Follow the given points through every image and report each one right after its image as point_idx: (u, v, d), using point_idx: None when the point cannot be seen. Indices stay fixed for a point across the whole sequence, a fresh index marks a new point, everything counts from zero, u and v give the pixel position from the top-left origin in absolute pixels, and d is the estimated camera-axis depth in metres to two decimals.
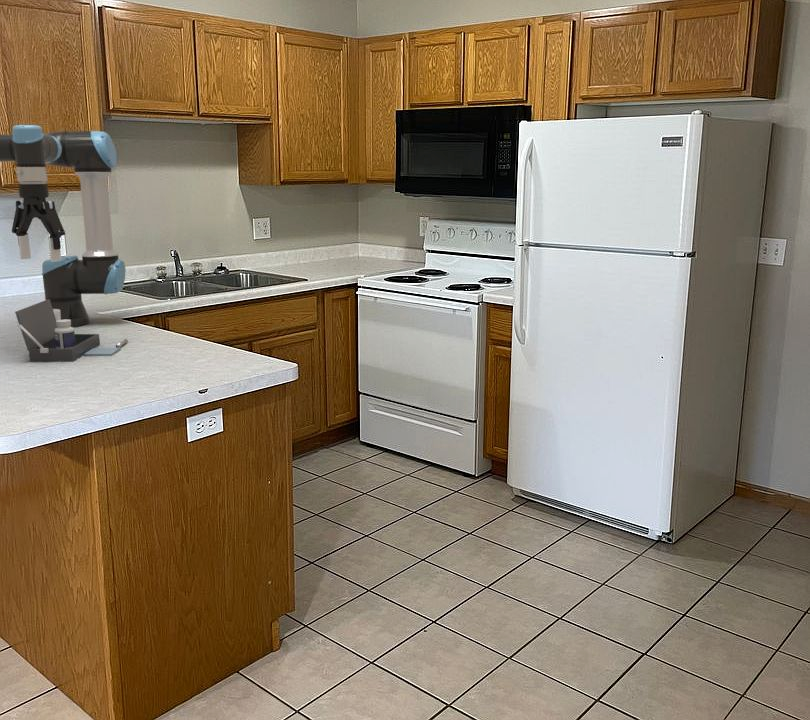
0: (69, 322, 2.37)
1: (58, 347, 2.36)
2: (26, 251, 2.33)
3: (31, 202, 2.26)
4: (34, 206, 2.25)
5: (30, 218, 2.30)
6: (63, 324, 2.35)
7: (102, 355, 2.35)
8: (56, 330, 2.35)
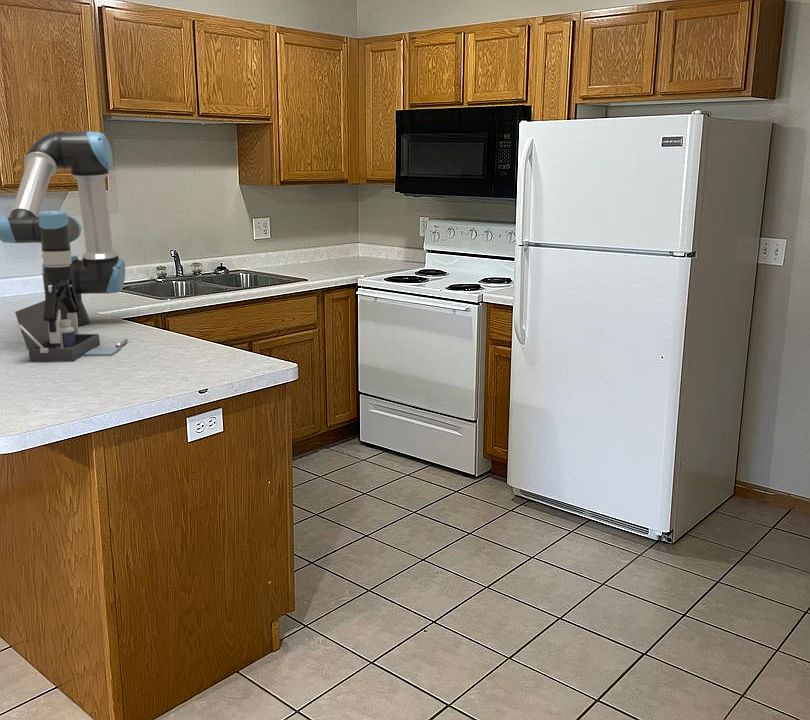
0: (69, 322, 2.37)
1: (58, 347, 2.36)
2: (73, 327, 2.44)
3: None
4: None
5: (67, 297, 2.39)
6: (63, 324, 2.35)
7: (102, 355, 2.35)
8: None
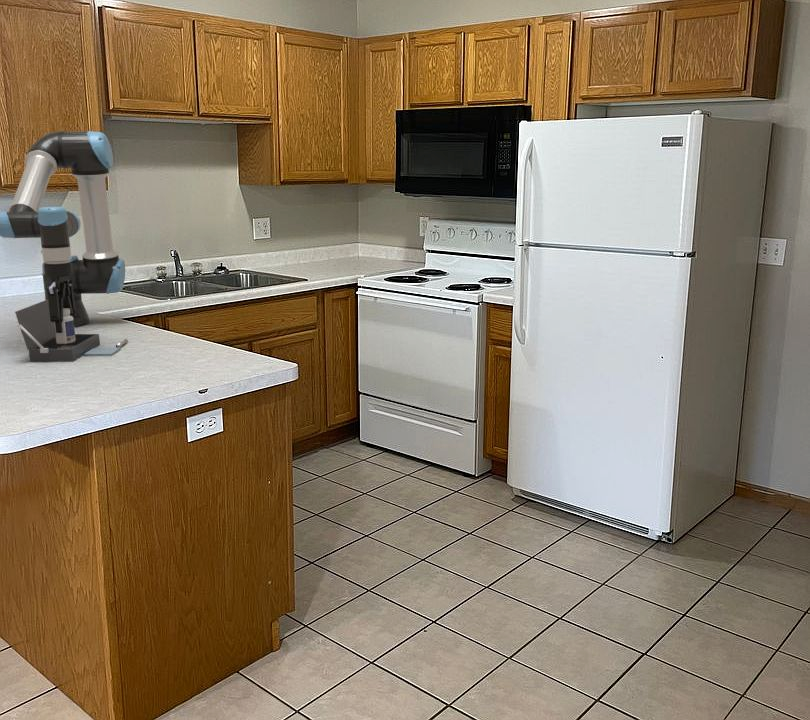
0: (68, 311, 2.36)
1: None
2: None
3: None
4: None
5: (65, 296, 2.37)
6: None
7: (102, 355, 2.35)
8: None
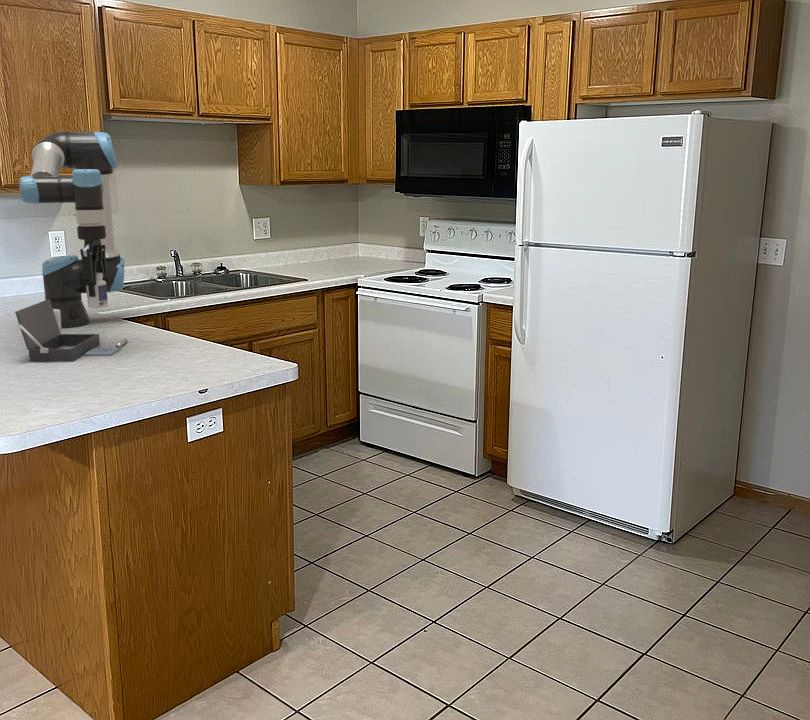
0: (101, 275, 2.34)
1: None
2: None
3: None
4: None
5: (97, 260, 2.35)
6: None
7: (102, 355, 2.35)
8: None
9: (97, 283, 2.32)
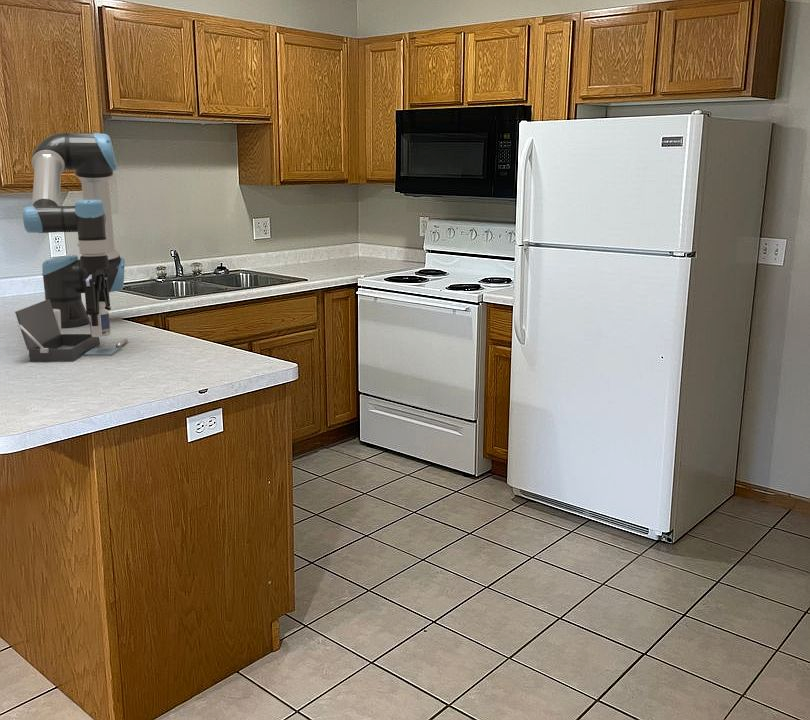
0: (104, 304, 2.36)
1: None
2: None
3: None
4: None
5: (100, 289, 2.37)
6: None
7: (102, 355, 2.35)
8: None
9: (100, 312, 2.34)
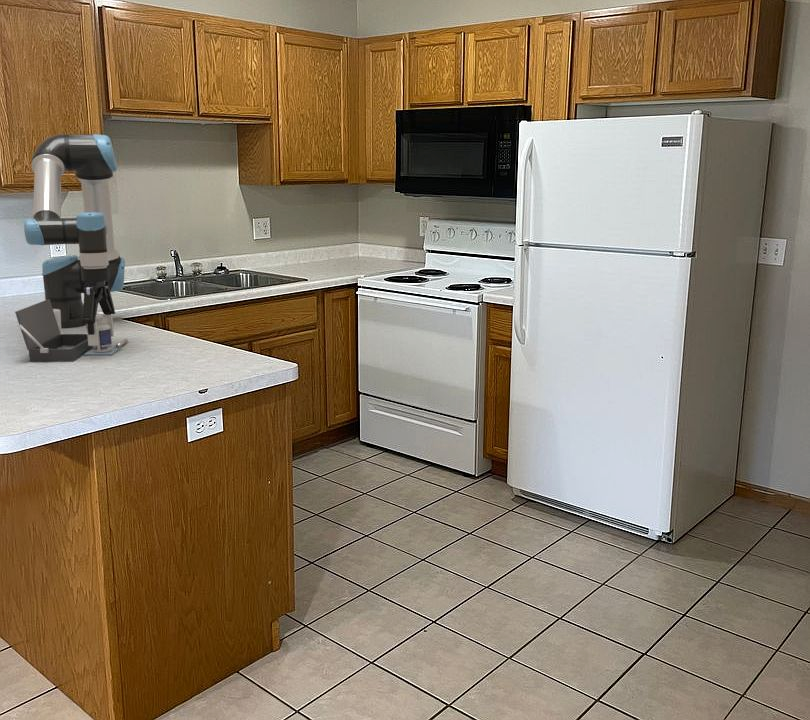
0: (105, 319, 2.37)
1: None
2: None
3: None
4: None
5: (103, 299, 2.39)
6: (100, 321, 2.36)
7: (102, 355, 2.35)
8: None
9: (102, 328, 2.36)
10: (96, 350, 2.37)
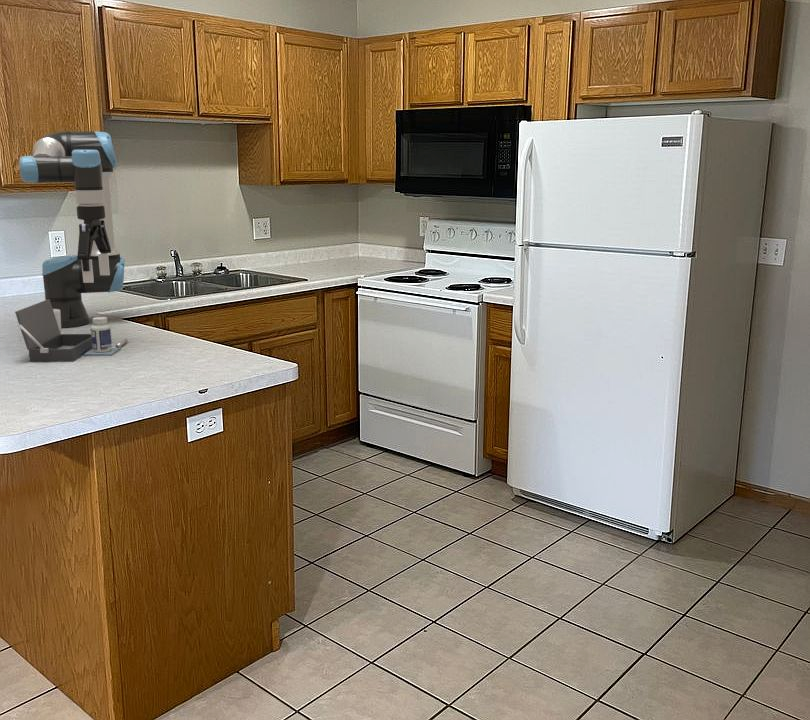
0: (105, 319, 2.37)
1: (94, 344, 2.37)
2: (104, 268, 2.44)
3: None
4: None
5: (98, 238, 2.39)
6: (100, 321, 2.36)
7: (102, 355, 2.35)
8: (93, 327, 2.36)
9: (102, 328, 2.36)
10: (96, 350, 2.37)
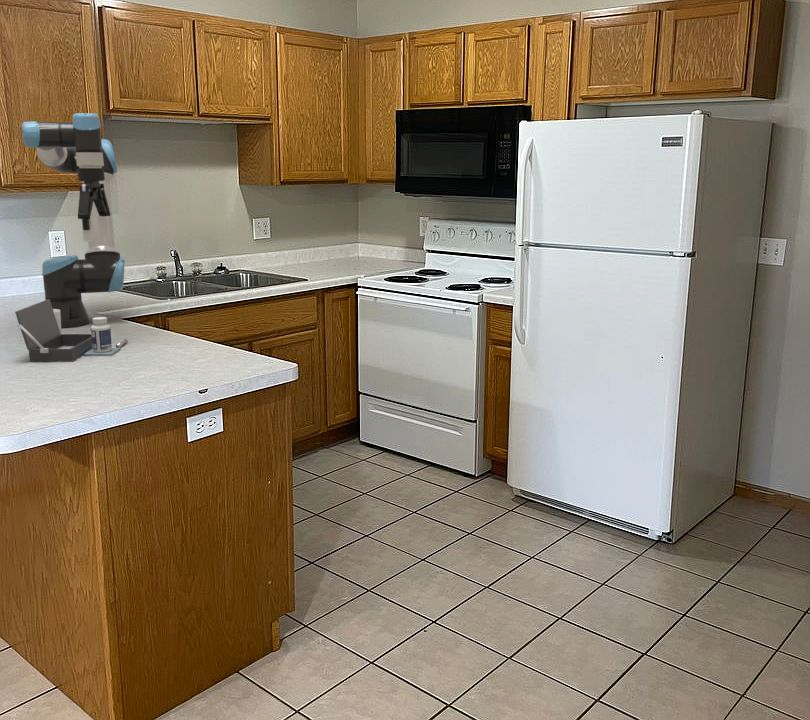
0: (105, 319, 2.37)
1: (94, 344, 2.36)
2: (104, 230, 2.53)
3: None
4: None
5: (98, 200, 2.48)
6: (100, 321, 2.35)
7: (102, 355, 2.35)
8: (93, 327, 2.36)
9: (101, 328, 2.36)
10: (96, 350, 2.37)
